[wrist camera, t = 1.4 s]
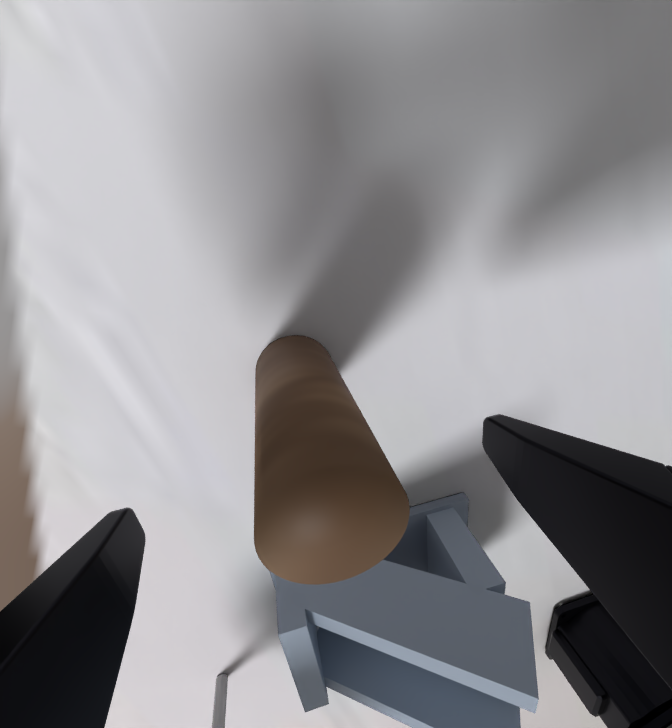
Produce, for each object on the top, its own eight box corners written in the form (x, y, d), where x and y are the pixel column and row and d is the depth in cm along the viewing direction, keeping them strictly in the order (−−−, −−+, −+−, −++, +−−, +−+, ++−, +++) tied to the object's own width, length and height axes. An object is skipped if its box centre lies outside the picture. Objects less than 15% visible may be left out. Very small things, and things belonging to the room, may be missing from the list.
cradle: (463, 492, 19) (600, 670, 11) (460, 575, 22) (568, 760, 14) (264, 548, 17) (271, 799, 10) (290, 630, 20) (311, 871, 13)
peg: (326, 328, 14) (406, 446, 6) (337, 396, 15) (412, 558, 8) (247, 344, 13) (235, 489, 6) (264, 413, 14) (273, 601, 7)
